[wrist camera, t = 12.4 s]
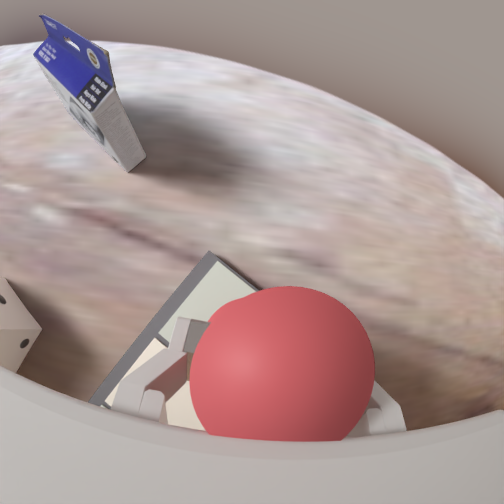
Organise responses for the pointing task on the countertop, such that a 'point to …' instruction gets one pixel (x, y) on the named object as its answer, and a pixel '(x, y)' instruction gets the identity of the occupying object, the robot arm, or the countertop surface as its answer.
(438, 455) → the robot arm
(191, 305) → the game board
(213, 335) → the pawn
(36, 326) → the die
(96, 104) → the ink box
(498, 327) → the countertop surface
